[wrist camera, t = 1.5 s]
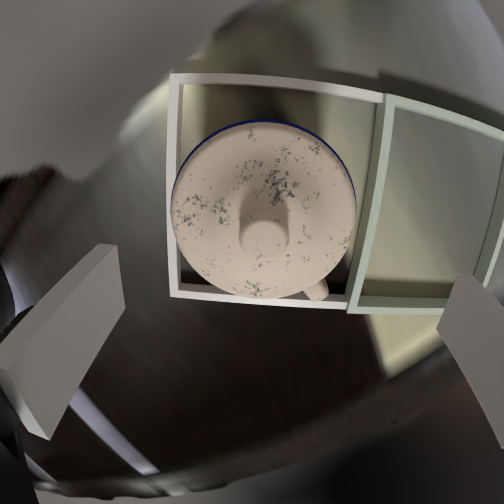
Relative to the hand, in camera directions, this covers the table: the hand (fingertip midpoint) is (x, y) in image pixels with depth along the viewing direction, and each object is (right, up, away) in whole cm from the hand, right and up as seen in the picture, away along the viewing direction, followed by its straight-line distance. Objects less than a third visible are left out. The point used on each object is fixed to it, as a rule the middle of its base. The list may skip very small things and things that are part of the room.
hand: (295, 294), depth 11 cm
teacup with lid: (0, +6, +12) cm, 14 cm away
